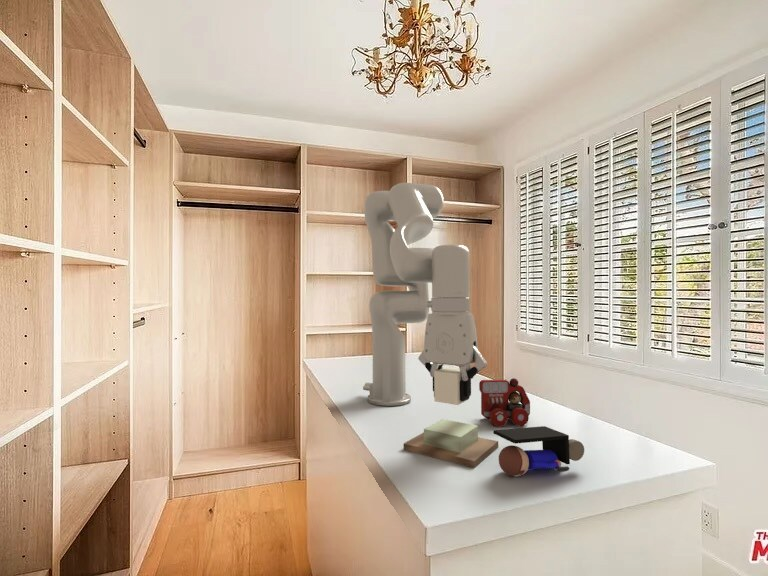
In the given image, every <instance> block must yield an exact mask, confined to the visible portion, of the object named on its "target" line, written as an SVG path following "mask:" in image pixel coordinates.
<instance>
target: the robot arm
mask: <svg viewBox="0 0 768 576" xmlns="http://www.w3.org/2000/svg"><path fill="white" fill-rule="evenodd" d="M364 201H365V202H364V208H363V209H364V219H365V224H366V227H367V230H368V232H369V233H368V234H369V237H370V239H371V259H372V261H371V262H372V263H371V264H372V275H373V280H374V282H375V284H376V285H378V286H381V287H407V288H408V290H381V291H377V292H375V293H374V294H372V295H371V296H370V299H369V302H368V303H369V304H368V308H369V315H370V321H371V329H372V330H371V332H372V333H371V334H372V337H371V338H372V382H365V383H364V385H363V386H362V390H363V391H367V392H369V394H367V398H366V399H367V402H368V403H370V404H372V405H375V406H382V407H383V406H385V407H390V406H391V407H393V406H395V407H396V406H402V405H407V404H408V403H411V401H412V397H411V395H410V394H408V393H406V390H407V389H406V385H407V384H406V338H405V335H404V334H403V332H402V330H401V329H400V328H399V326H398V325H400V324H401V325H402V324H419V323H424V322H425V321H426V323H425V330H424V340H423V341H424V342H423V350H422V352H420V354H419V356H418V357H417V358H418V360H419V362H420V363H421V364H422V365H423V366H424V367H425V369H426V370H427V371H428V372H429V375H430V377H432V392H433V393H434V371H436V370H439V369H442V368H444V365H446V366H447V365H448V366H455V367H456V366H457V367H459V368H458V369H460V372H461V376H462V380H461V381H460V401H465V400H467V399H468V400H469V399H470V397H471V396H472V380H473V378H474V377H475V376H476V375H477V374H478V373H479V372H480V371H482V370H483V369H484V368H486V367H487V366H488V361H487V360H486V358H485V357H484V356H483V355H482V353H481V352H480V350H479V348H478V346H479V345H478V344H479V343H478V335H477V328H476V322H475V318H474V314H473V313H471V292H470V291H471V288H470V287H471V285H470V284H471V282H470V281H471V278H470V276H471V275H470V266H471V265H470V262H471V261H470V257H471V256H470V250H469V249H468V247H467V246H465V245H462V244H441V245H438V246H435V247H433V248H432V247H427V248H426V247H410V246H409V245H411V244H413V243H416V242H419V241H421V240H423V239H425V238H426V237H427V236H428V235H429V234H430V233H431V232H432V230H433V227H434V219H435V218H436V217H439V215H440V214H441V213H442V211H443V209H444V208H443V207H444V201H445V199H444V195H443V193H442V191H441V190H440V188H439V187H437V186H436V185H434V184H433V185H432V184H427V183H426V184H425V183H415V182H400V183H397V184H395V185H393V186H392V187H391V188H390V190H376V191H372V192H370V193H369V194H368V195H367V196H366V197H365V200H364ZM390 222H395V223H396V225H397V227H396V228H394V227H393V226H392V225H391V224H390ZM429 284H431V300H430V297H429V294H430V293H429ZM430 308H431V313H430ZM473 363H474V364H475V363H476V364H475V365H473V366H472V365H471V364H473ZM468 400H467V401H468ZM465 402H466V401H465Z"/></svg>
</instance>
